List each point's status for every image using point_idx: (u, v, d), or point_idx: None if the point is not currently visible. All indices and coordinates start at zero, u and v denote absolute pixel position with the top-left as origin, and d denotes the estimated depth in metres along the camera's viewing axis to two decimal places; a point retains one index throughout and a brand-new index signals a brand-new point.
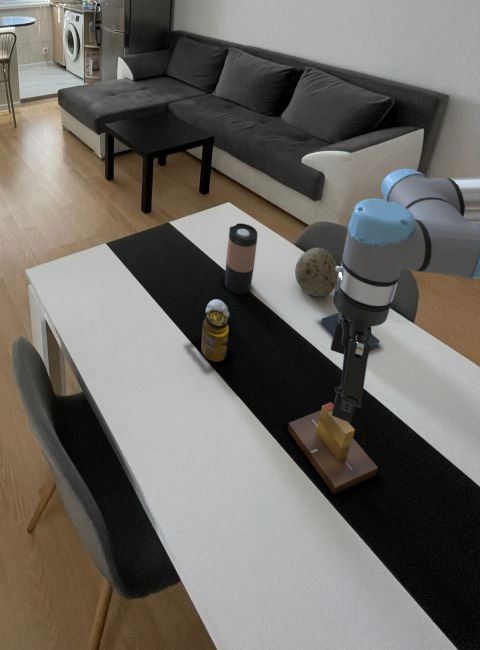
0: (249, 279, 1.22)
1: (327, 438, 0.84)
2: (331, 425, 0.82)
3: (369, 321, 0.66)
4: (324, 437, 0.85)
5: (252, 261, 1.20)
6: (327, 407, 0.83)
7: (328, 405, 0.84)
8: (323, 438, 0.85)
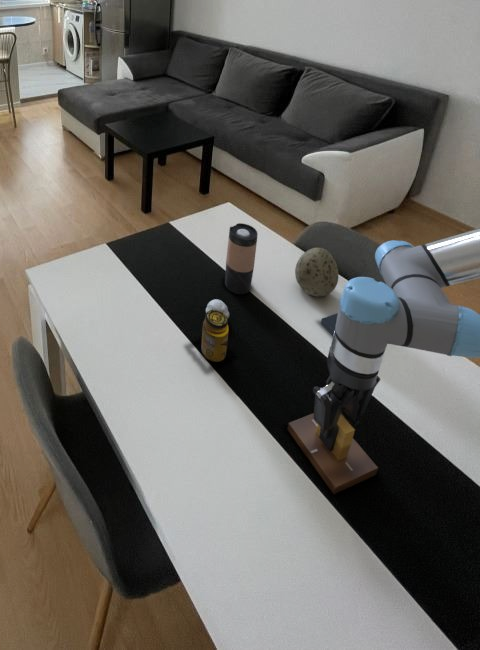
0: (249, 279, 1.22)
1: None
2: None
3: (339, 378, 0.75)
4: None
5: (252, 261, 1.20)
6: None
7: None
8: None
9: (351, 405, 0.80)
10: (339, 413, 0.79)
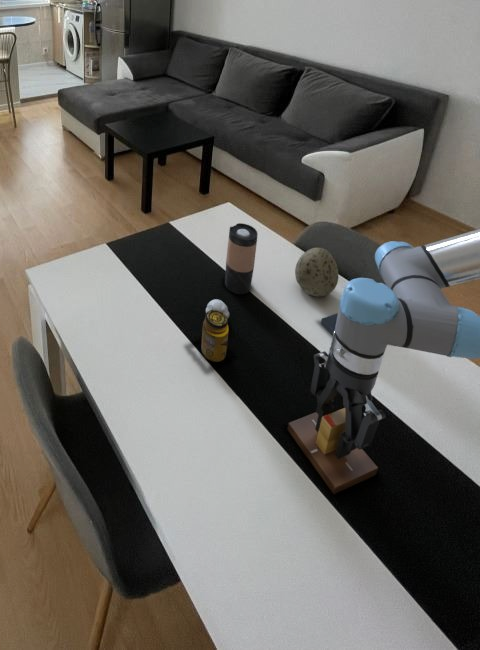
0: (249, 279, 1.22)
1: (336, 444, 0.83)
2: (340, 430, 0.81)
3: (373, 384, 0.74)
4: (333, 447, 0.83)
5: (252, 261, 1.20)
6: (332, 423, 0.81)
7: (328, 421, 0.81)
8: (332, 449, 0.83)
9: (336, 393, 0.82)
10: None
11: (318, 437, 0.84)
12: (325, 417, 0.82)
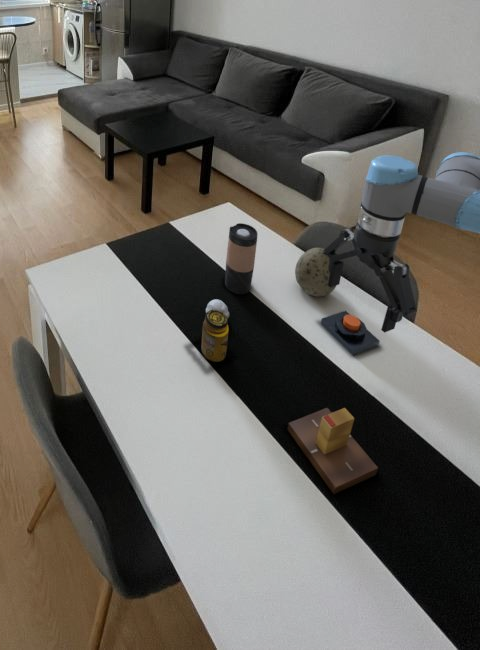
0: (249, 279, 1.22)
1: (336, 444, 0.83)
2: (340, 430, 0.81)
3: (395, 247, 0.86)
4: (333, 447, 0.83)
5: (252, 261, 1.20)
6: (332, 423, 0.81)
7: (328, 421, 0.81)
8: (332, 449, 0.83)
9: None
10: None
11: (318, 437, 0.84)
12: (325, 417, 0.82)
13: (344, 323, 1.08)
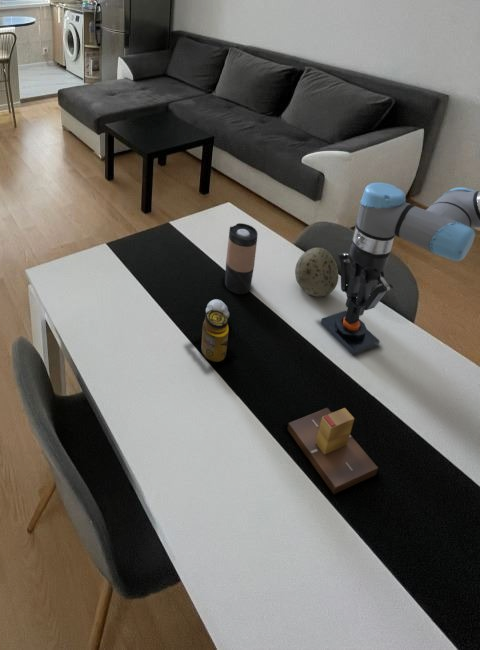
0: (249, 279, 1.22)
1: (336, 444, 0.83)
2: (340, 430, 0.81)
3: (385, 263, 0.97)
4: (333, 447, 0.83)
5: (252, 261, 1.20)
6: (332, 423, 0.81)
7: (328, 421, 0.81)
8: (332, 449, 0.83)
9: (360, 283, 1.05)
10: None
11: (318, 437, 0.84)
12: (325, 417, 0.82)
13: (344, 324, 1.08)
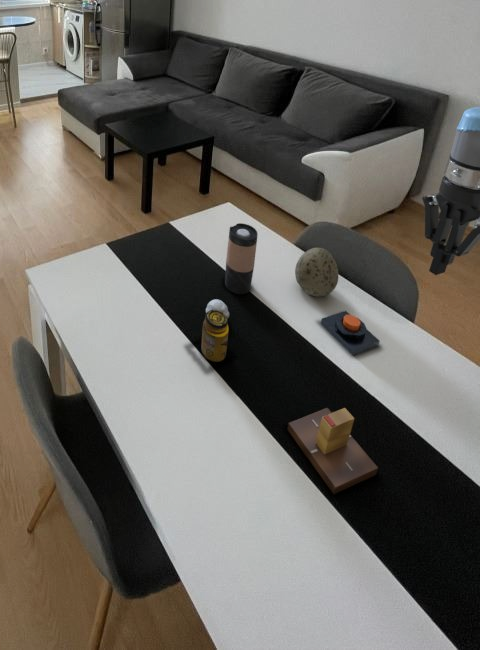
0: (249, 279, 1.22)
1: (336, 444, 0.83)
2: (340, 430, 0.81)
3: None
4: (333, 447, 0.83)
5: (252, 261, 1.20)
6: (332, 423, 0.81)
7: (328, 421, 0.81)
8: (332, 449, 0.83)
9: (449, 228, 0.93)
10: None
11: (318, 437, 0.84)
12: (325, 417, 0.82)
13: (344, 323, 1.08)
